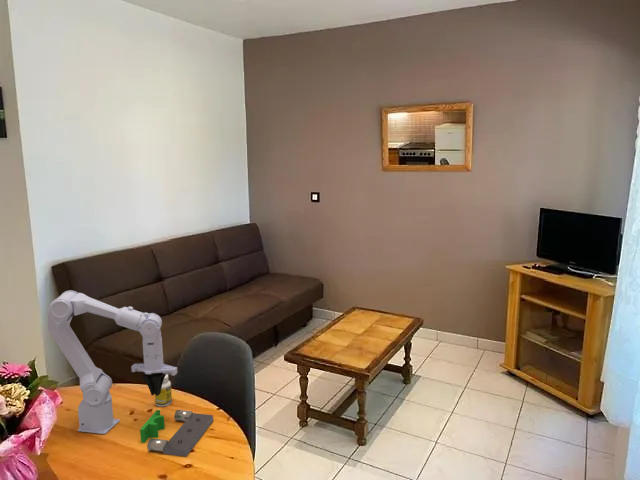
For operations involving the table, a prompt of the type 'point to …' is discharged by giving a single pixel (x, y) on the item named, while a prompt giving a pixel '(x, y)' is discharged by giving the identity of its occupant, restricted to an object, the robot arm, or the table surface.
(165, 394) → the supplement bottle
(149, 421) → the green notched block
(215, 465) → the table surface
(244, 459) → the table surface
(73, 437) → the table surface
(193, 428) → the fixed leaf
